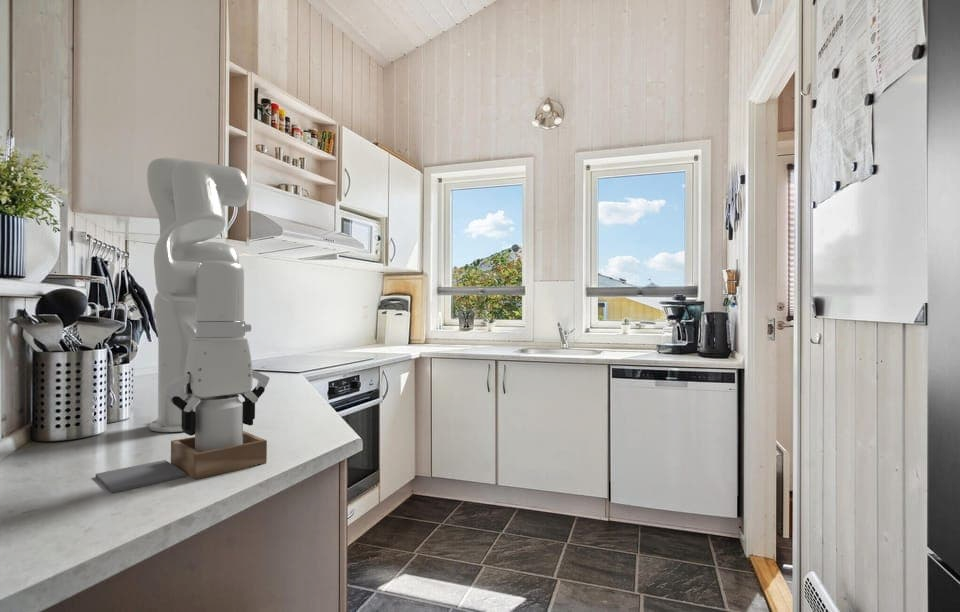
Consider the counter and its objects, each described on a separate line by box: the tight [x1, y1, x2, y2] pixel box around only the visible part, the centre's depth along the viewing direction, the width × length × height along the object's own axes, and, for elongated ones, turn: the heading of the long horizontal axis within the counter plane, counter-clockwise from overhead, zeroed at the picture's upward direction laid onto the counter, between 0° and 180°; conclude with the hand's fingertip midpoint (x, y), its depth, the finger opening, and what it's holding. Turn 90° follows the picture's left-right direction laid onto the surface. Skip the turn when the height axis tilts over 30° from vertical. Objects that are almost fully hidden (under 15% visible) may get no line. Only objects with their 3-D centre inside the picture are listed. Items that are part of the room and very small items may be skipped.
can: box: [194, 394, 244, 453], centre depth 90 cm, size 8×8×12 cm
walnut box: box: [170, 430, 268, 480], centre depth 90 cm, size 12×12×4 cm
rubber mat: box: [95, 459, 187, 494], centre depth 82 cm, size 10×10×1 cm
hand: (219, 428), depth 89 cm, fingers open, 9 cm apart
